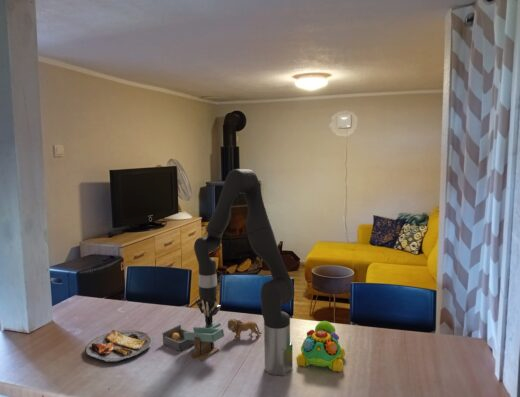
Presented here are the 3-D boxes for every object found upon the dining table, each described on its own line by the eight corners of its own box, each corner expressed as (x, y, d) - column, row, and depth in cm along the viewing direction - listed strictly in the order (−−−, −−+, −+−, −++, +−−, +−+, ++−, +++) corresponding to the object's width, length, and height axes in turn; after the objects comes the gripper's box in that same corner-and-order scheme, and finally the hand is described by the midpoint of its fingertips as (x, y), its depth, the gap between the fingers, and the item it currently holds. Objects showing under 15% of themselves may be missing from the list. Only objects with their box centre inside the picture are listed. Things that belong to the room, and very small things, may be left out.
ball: (180, 332, 170) (175, 330, 172) (175, 335, 167) (169, 333, 169) (181, 340, 170) (175, 337, 172) (175, 343, 168) (170, 340, 170)
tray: (197, 342, 169) (196, 331, 168) (180, 351, 162) (179, 339, 161) (180, 335, 175) (179, 324, 174) (163, 344, 168) (162, 332, 167)
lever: (241, 326, 164) (239, 319, 164) (213, 342, 152) (211, 334, 152) (212, 325, 174) (211, 318, 174) (183, 339, 162) (182, 332, 162)
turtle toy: (347, 346, 164) (347, 318, 163) (342, 378, 142) (342, 346, 140) (304, 341, 169) (304, 314, 167) (294, 371, 147) (293, 340, 145)
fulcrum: (219, 350, 162) (218, 331, 161) (200, 361, 154) (200, 341, 153) (208, 346, 166) (207, 327, 165) (189, 356, 158) (188, 336, 157)
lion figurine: (229, 343, 168) (229, 322, 167) (226, 337, 173) (225, 317, 172) (263, 337, 173) (263, 316, 172) (259, 331, 178) (259, 312, 177)
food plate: (73, 354, 161) (72, 345, 160) (119, 330, 181) (118, 323, 181) (119, 371, 149) (119, 362, 149) (163, 344, 170) (162, 336, 169)
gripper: (226, 284, 166) (226, 325, 169) (202, 278, 174) (204, 316, 177) (213, 290, 160) (214, 331, 163) (189, 283, 168) (191, 323, 171)
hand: (208, 324), depth 170 cm, fingers closed
